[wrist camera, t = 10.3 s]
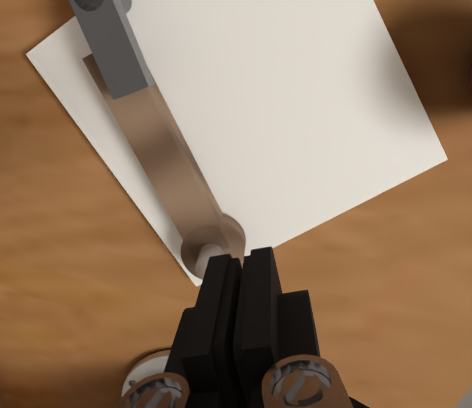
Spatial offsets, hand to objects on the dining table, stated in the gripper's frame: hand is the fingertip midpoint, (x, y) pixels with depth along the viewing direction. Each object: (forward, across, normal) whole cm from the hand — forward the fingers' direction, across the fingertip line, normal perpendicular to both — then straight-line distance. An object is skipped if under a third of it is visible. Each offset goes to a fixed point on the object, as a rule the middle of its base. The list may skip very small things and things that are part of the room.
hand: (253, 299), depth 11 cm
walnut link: (+21, +7, +1) cm, 22 cm away
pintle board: (+22, +1, -3) cm, 23 cm away
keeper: (+21, +7, -9) cm, 24 cm away
